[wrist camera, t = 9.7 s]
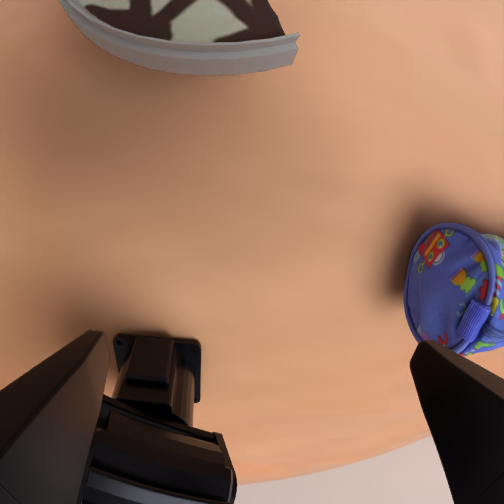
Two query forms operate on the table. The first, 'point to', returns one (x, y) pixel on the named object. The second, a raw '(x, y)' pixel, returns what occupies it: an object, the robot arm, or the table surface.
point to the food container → (187, 34)
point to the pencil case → (456, 289)
